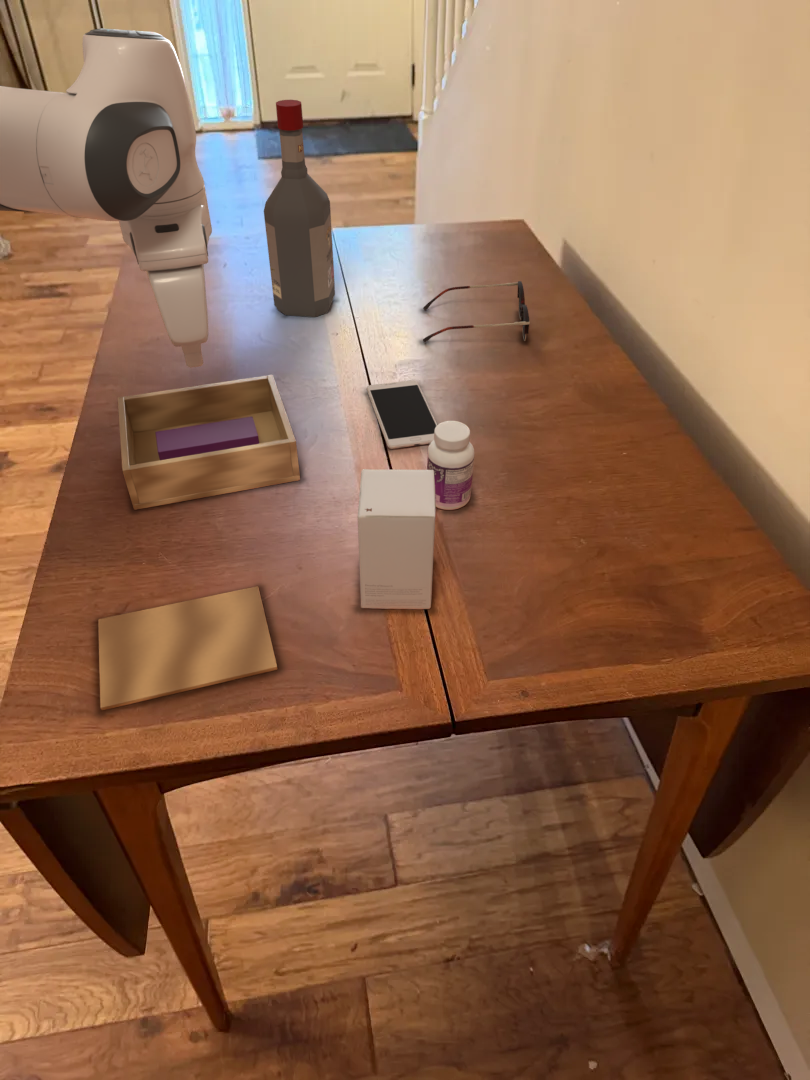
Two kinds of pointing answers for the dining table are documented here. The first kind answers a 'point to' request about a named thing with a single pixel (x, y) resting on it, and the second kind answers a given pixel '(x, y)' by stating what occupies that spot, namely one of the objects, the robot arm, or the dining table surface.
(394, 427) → the smartphone
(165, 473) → the open wooden box
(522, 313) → the sunglasses
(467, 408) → the dining table surface
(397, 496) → the white packaging box
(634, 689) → the dining table surface
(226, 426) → the purple rectangular block
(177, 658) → the wooden board
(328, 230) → the liquor
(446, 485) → the pill bottle
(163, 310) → the robot arm
